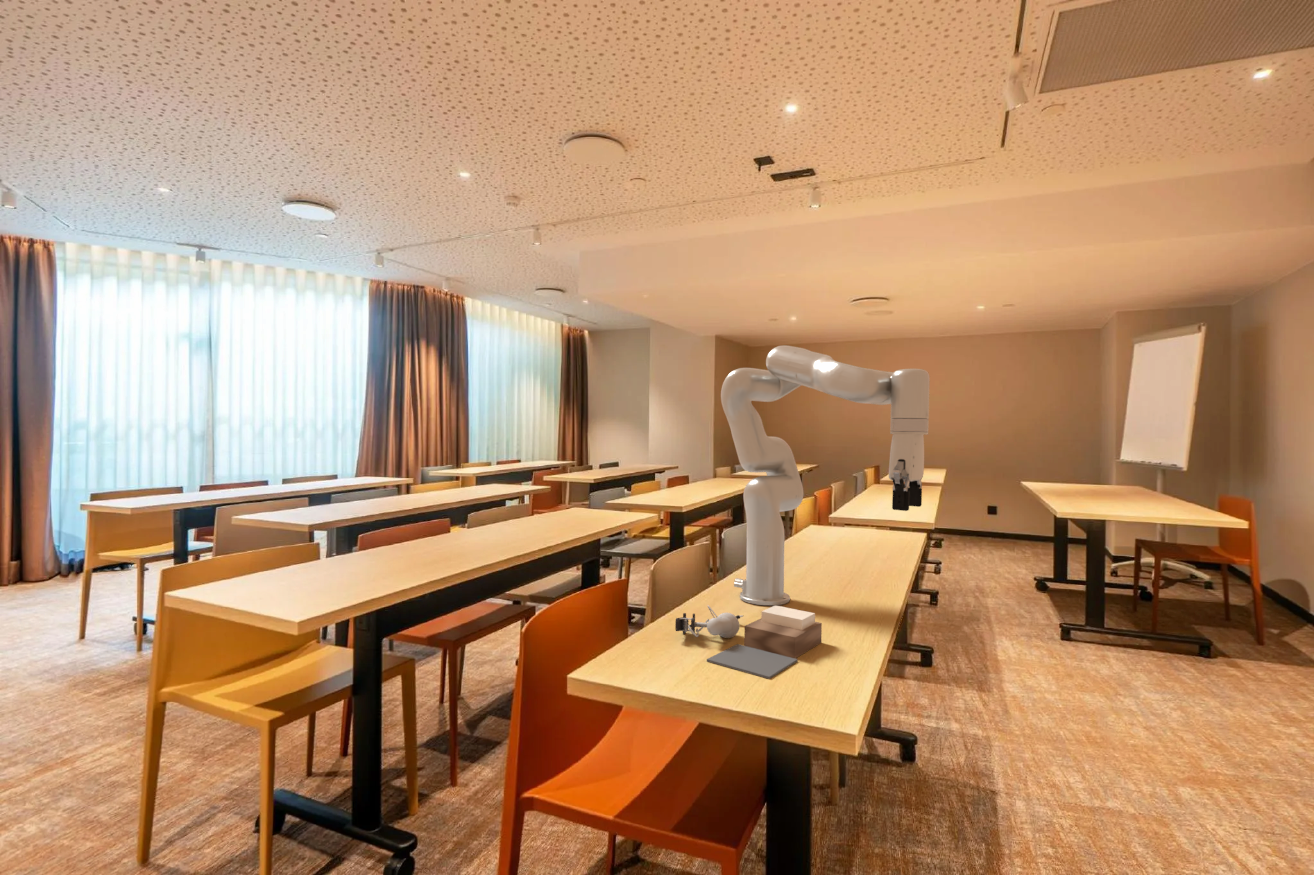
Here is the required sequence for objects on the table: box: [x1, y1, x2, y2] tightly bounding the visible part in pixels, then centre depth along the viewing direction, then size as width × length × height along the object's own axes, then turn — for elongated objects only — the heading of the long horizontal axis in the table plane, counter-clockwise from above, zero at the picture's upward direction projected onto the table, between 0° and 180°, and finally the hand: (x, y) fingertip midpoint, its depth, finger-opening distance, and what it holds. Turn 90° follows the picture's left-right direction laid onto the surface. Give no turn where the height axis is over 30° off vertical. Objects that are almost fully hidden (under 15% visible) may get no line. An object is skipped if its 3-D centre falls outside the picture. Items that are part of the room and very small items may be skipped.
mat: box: [706, 643, 798, 680], centre depth 117 cm, size 13×11×1 cm
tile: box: [760, 605, 816, 630], centre depth 128 cm, size 9×6×2 cm, turn 52°
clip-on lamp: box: [674, 604, 744, 639], centre depth 133 cm, size 12×6×18 cm
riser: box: [743, 618, 823, 659], centre depth 127 cm, size 11×12×4 cm
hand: (907, 508), depth 133 cm, fingers open, 9 cm apart
